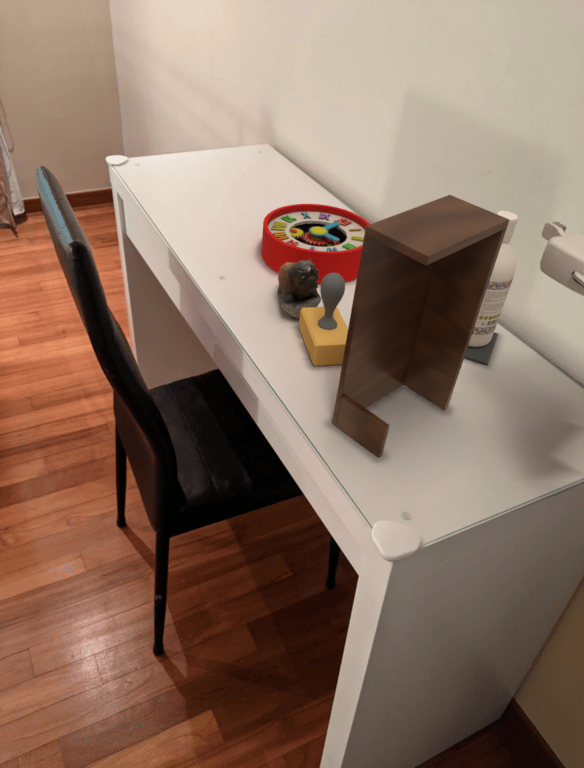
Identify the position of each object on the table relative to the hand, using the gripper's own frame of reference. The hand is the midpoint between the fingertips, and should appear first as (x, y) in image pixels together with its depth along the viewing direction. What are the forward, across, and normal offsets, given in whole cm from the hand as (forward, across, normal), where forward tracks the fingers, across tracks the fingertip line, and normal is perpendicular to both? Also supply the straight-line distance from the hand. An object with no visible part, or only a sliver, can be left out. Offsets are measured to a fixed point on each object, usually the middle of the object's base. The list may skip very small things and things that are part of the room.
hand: (579, 224), depth 71 cm
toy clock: (+43, -12, -25) cm, 51 cm away
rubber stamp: (+17, -22, -25) cm, 37 cm away
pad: (+12, 0, -25) cm, 28 cm away
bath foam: (+13, +1, -25) cm, 28 cm away
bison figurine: (+28, -21, -25) cm, 44 cm away
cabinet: (0, -20, -25) cm, 32 cm away
